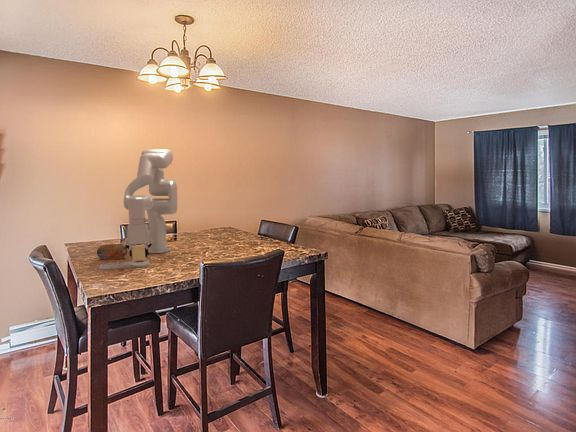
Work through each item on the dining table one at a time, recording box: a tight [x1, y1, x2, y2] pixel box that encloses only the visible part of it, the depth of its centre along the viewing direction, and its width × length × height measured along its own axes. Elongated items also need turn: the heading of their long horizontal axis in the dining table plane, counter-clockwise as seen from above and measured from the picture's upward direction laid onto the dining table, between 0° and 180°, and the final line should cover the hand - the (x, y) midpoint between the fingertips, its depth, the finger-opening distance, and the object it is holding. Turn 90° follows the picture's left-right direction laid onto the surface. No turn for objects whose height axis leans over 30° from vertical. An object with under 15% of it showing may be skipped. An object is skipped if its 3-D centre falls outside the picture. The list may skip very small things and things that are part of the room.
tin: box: [96, 243, 128, 261], centre depth 197 cm, size 15×3×8 cm, turn 101°
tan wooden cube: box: [131, 245, 147, 261], centre depth 182 cm, size 6×6×6 cm
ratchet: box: [98, 258, 150, 271], centre depth 181 cm, size 9×22×6 cm, turn 108°
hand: (139, 256), depth 182 cm, fingers closed on tan wooden cube, 6 cm apart
